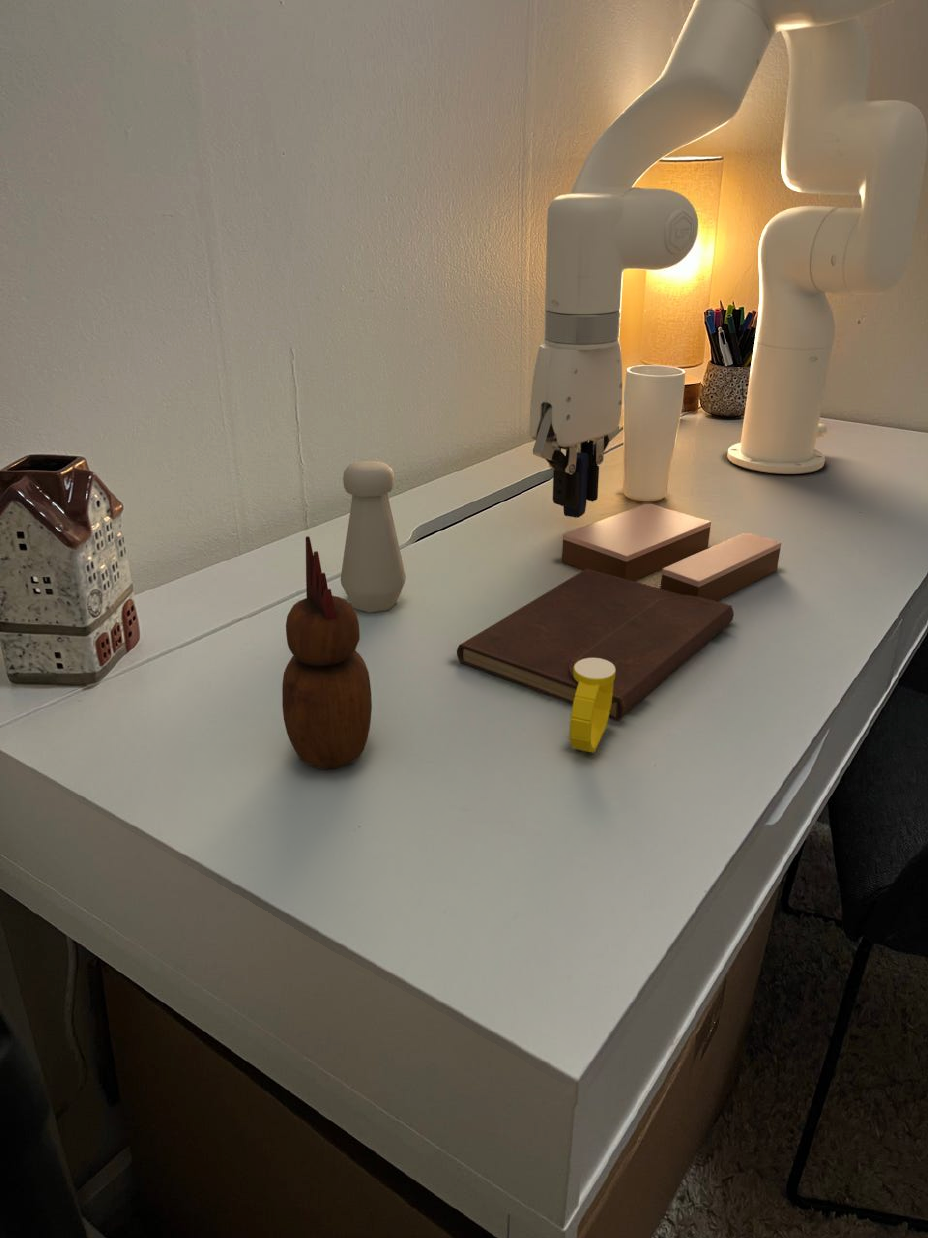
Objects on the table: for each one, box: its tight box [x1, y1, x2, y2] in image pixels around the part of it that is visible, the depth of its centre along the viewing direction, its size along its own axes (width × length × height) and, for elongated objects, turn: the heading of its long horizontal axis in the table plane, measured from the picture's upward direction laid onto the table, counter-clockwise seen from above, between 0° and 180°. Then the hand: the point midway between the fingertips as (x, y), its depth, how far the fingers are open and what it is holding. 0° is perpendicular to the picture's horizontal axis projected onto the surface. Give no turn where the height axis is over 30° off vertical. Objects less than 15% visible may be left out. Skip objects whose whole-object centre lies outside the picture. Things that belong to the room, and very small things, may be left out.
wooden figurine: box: [281, 536, 373, 770], centre depth 59 cm, size 7×6×15 cm
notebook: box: [456, 569, 734, 722], centre depth 77 cm, size 15×20×2 cm
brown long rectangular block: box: [659, 531, 782, 602], centre depth 88 cm, size 14×4×3 cm, turn 133°
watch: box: [568, 658, 616, 754], centre depth 63 cm, size 6×3×6 cm, turn 157°
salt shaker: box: [340, 460, 407, 614], centre depth 81 cm, size 6×6×13 cm
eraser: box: [562, 452, 589, 519], centre depth 100 cm, size 2×2×7 cm
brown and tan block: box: [561, 502, 712, 582], centre depth 94 cm, size 14×8×3 cm, turn 133°
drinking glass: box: [622, 364, 686, 503], centre depth 109 cm, size 7×7×15 cm
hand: (575, 500), depth 101 cm, fingers closed on eraser, 2 cm apart
